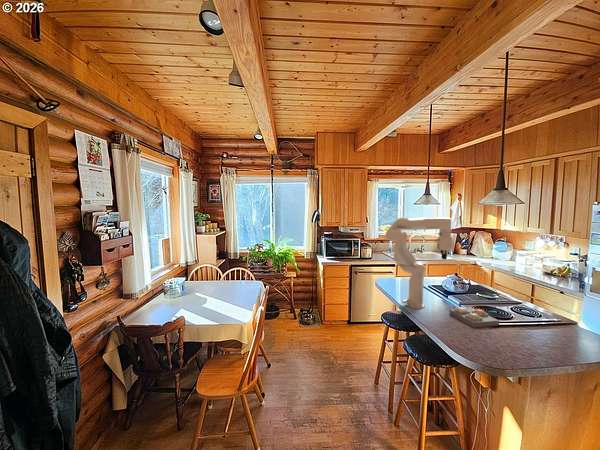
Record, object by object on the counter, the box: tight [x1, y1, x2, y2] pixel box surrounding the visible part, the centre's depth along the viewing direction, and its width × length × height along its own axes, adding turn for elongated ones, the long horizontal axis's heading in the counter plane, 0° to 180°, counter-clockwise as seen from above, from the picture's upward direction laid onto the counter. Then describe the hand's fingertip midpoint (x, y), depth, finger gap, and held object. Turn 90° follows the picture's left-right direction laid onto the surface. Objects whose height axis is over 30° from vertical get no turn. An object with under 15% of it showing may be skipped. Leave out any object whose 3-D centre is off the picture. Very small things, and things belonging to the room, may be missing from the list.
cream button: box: [457, 306, 467, 312], centre depth 173 cm, size 4×4×2 cm
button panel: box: [449, 307, 500, 328], centre depth 169 cm, size 17×20×4 cm
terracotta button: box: [476, 308, 485, 314], centre depth 170 cm, size 4×4×2 cm
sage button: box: [470, 313, 478, 318], centre depth 163 cm, size 4×4×2 cm
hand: (444, 258), depth 200 cm, fingers closed
